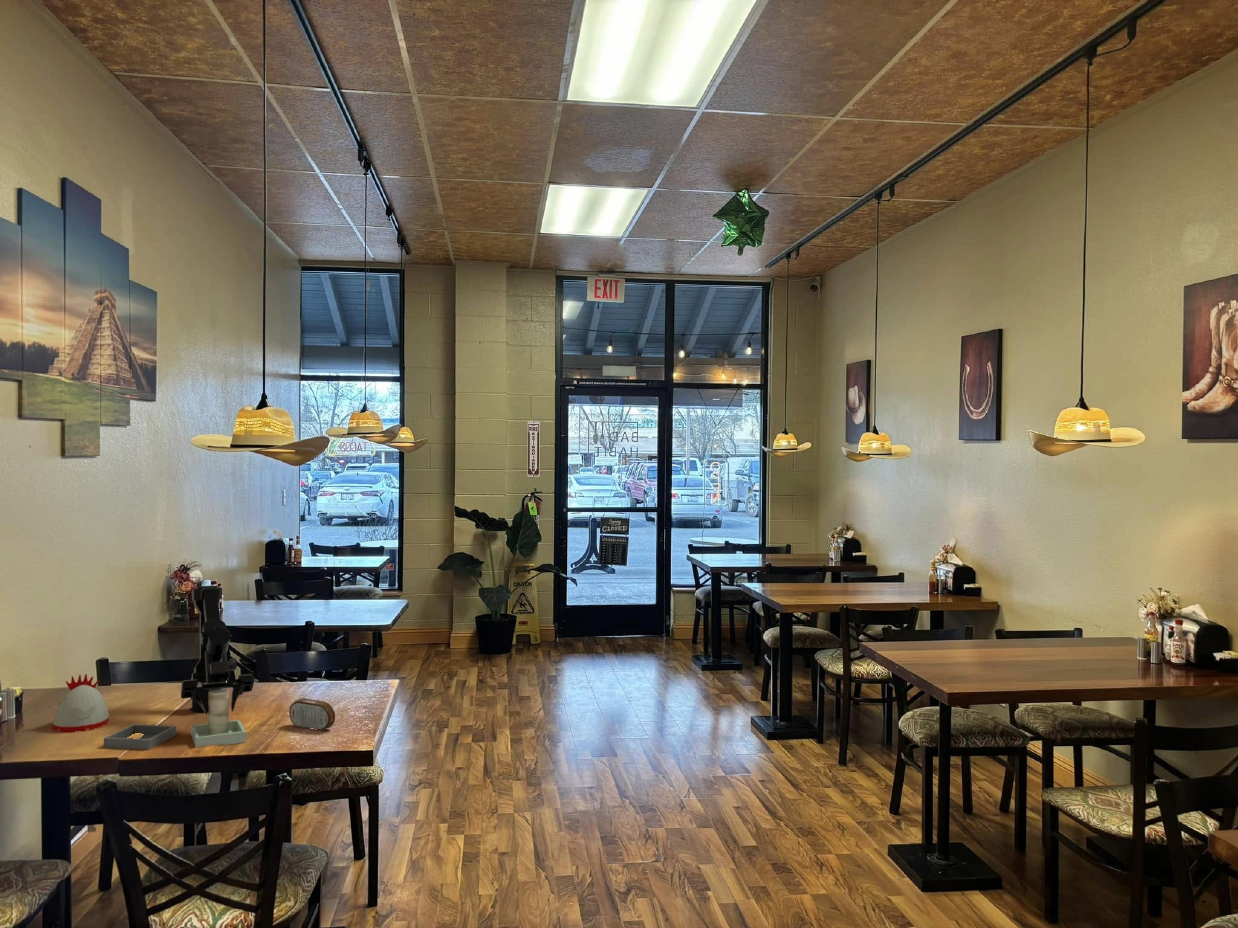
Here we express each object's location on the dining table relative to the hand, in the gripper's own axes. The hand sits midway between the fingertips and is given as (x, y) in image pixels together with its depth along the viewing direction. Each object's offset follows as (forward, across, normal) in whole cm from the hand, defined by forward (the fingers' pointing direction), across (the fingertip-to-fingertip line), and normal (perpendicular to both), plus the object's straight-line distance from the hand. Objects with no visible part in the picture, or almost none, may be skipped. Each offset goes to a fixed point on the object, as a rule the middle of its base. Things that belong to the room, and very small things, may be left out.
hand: (219, 711), depth 235 cm
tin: (+6, +25, +6) cm, 26 cm away
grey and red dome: (-17, -33, +29) cm, 47 cm away
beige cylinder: (+4, 0, +6) cm, 8 cm away
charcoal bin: (0, -19, +11) cm, 22 cm away
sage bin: (+5, 0, +7) cm, 8 cm away
